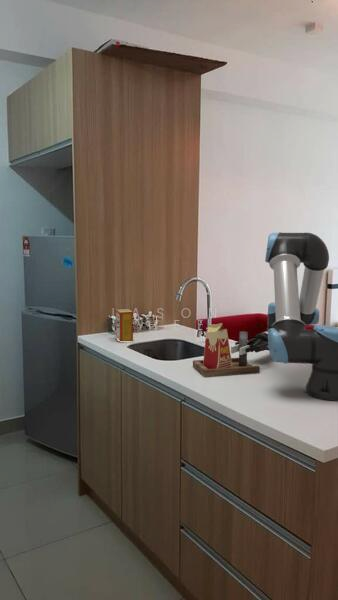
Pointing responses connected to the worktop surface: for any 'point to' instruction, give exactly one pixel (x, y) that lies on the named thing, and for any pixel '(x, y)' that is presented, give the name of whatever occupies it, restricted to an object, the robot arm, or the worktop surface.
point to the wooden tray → (237, 363)
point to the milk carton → (217, 348)
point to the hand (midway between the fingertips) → (236, 350)
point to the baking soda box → (124, 325)
